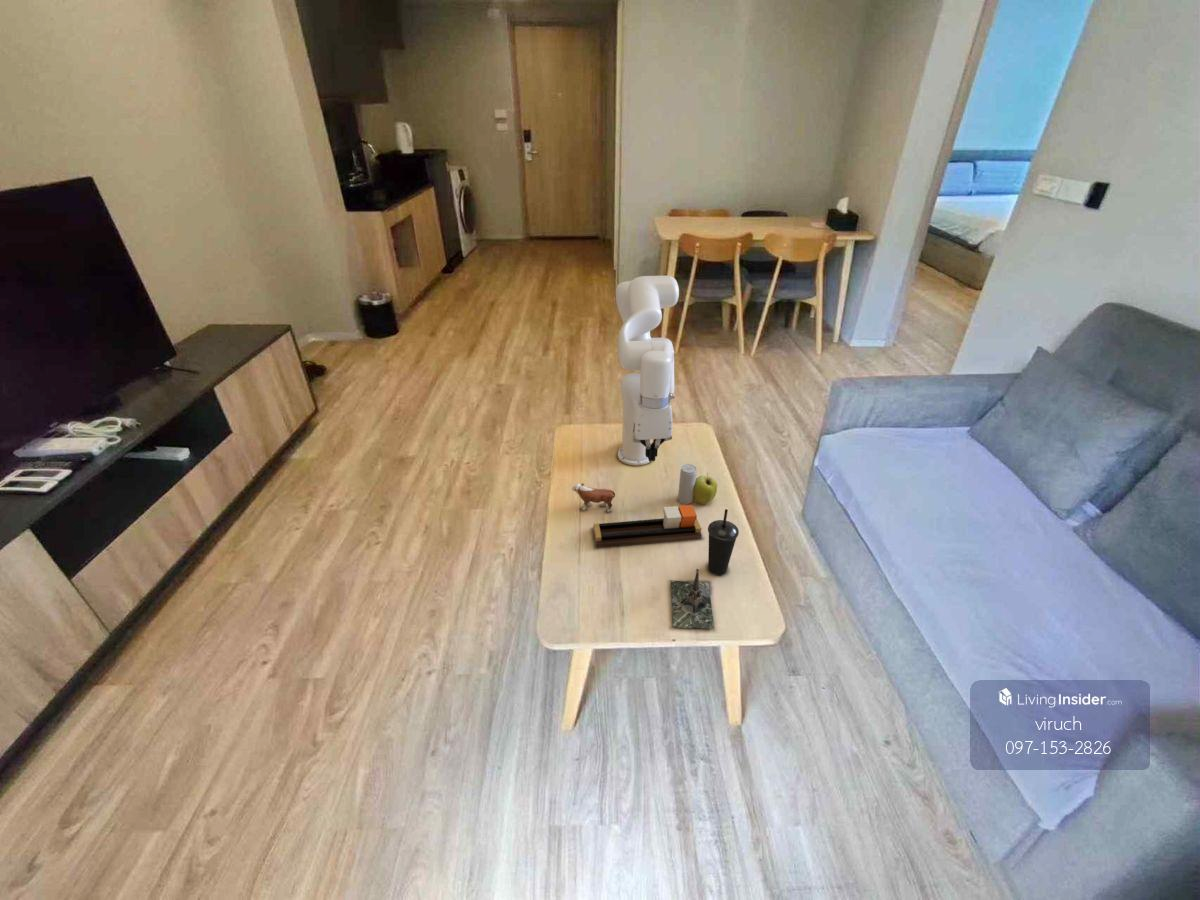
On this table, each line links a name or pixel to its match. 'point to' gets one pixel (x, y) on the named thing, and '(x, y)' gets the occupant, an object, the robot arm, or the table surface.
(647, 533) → the rails
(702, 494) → the apple
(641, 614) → the table surface
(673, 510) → the white boxy piece
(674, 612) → the eiffel tower figurine
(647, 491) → the table surface
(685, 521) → the orange rectangular block
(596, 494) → the bull figurine
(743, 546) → the table surface
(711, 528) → the drinking cup
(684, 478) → the beverage can
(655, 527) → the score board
